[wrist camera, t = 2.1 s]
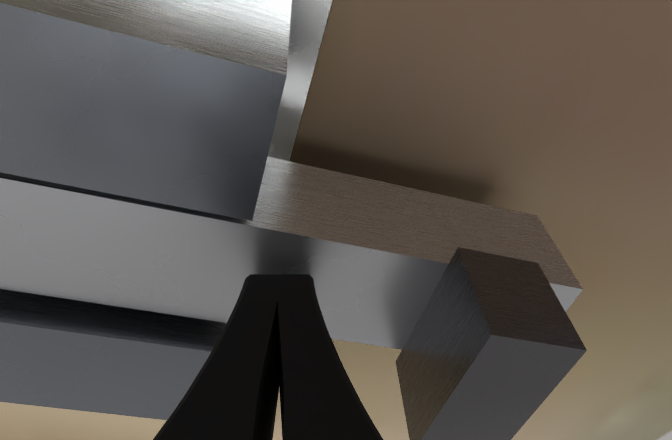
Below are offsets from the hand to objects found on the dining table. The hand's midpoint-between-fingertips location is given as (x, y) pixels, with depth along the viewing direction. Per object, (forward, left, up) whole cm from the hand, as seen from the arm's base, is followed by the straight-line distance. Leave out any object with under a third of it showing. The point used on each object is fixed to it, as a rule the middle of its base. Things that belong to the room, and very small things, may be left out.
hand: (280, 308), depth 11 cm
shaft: (+3, 0, -4) cm, 4 cm away
